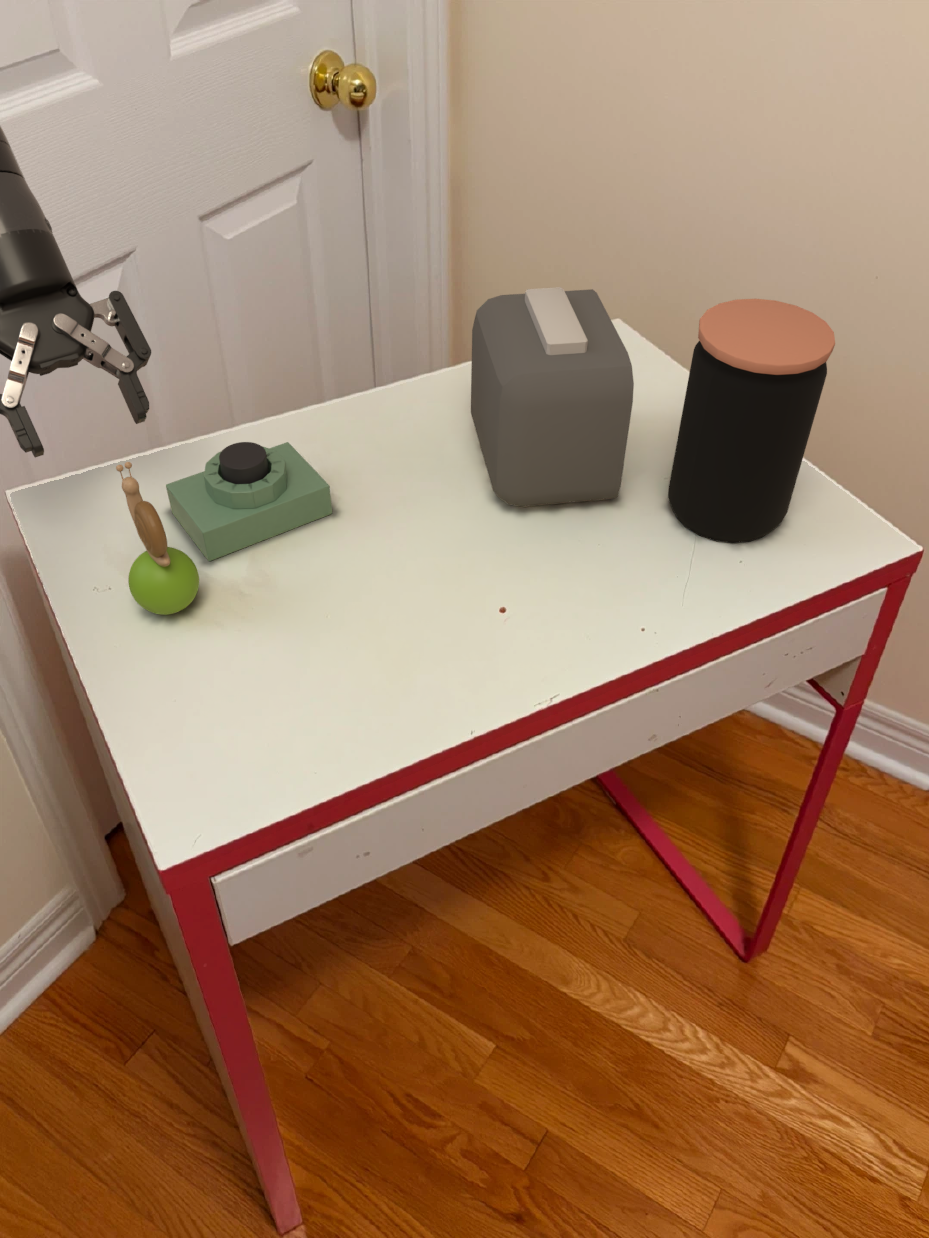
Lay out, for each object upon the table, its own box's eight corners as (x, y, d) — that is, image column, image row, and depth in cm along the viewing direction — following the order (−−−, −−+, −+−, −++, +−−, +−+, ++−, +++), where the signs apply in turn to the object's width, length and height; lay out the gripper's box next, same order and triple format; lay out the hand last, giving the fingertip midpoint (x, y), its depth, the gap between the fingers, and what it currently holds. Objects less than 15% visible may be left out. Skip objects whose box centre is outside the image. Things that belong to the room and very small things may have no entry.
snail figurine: (183, 568, 89) (155, 450, 80) (215, 611, 85) (189, 493, 77) (121, 591, 87) (86, 473, 78) (151, 637, 83) (118, 519, 74)
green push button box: (208, 562, 89) (199, 516, 86) (171, 513, 94) (161, 467, 91) (332, 513, 94) (328, 468, 91) (291, 469, 99) (285, 424, 95)
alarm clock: (616, 511, 95) (638, 358, 84) (493, 522, 94) (500, 368, 83) (575, 412, 106) (590, 266, 96) (465, 421, 105) (467, 274, 94)
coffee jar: (809, 520, 94) (865, 339, 82) (723, 563, 90) (768, 379, 77) (725, 462, 101) (765, 286, 88) (641, 499, 96) (670, 320, 84)
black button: (234, 491, 89) (231, 474, 88) (214, 467, 91) (211, 451, 90) (276, 475, 91) (274, 459, 89) (256, 453, 93) (253, 436, 92)
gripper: (89, 246, 90) (167, 422, 91) (-83, 289, 84) (3, 476, 86) (97, 207, 83) (181, 398, 85) (-90, 251, 77) (3, 455, 79)
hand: (91, 437), depth 85 cm, fingers open, 8 cm apart
